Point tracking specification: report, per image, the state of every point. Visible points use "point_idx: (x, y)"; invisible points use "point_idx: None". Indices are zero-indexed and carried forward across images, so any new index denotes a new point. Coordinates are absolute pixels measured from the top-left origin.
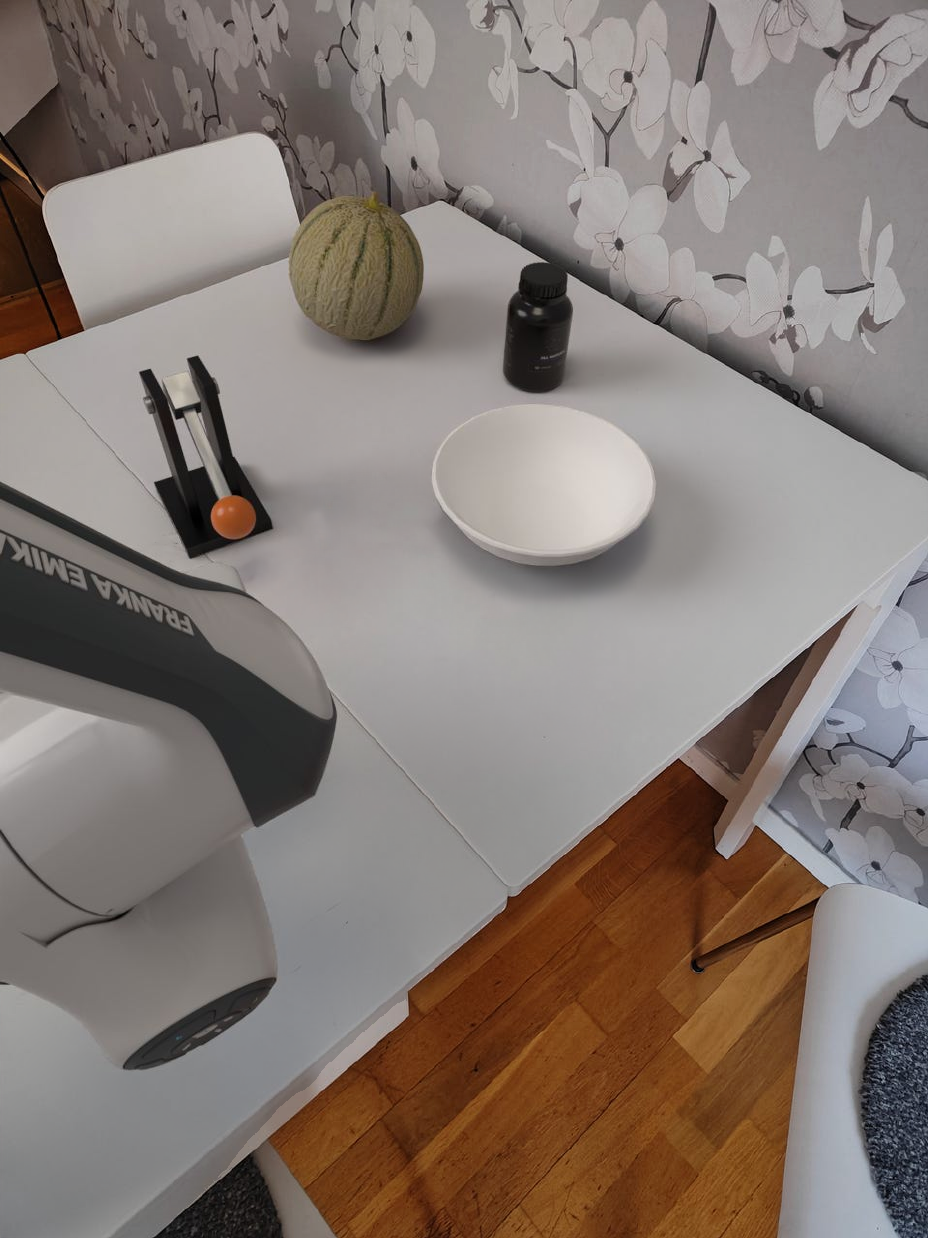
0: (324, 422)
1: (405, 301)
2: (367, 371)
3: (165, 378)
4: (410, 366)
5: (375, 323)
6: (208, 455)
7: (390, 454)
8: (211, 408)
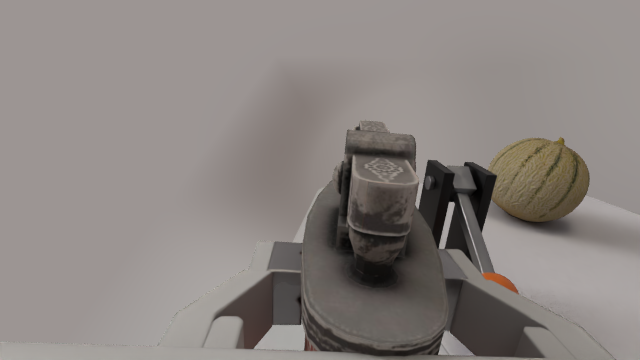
0: (513, 258)
1: (577, 200)
2: (536, 238)
3: (450, 166)
4: (571, 244)
5: (551, 208)
6: (475, 231)
7: (587, 298)
8: (483, 197)
